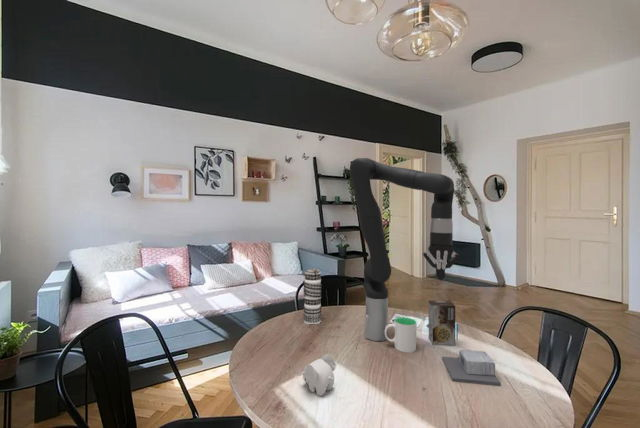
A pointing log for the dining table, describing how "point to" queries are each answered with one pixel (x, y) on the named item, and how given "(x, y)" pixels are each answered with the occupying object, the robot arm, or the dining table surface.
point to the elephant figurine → (320, 374)
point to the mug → (404, 334)
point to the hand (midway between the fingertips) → (440, 279)
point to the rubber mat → (461, 376)
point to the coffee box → (441, 322)
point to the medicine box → (476, 362)
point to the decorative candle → (312, 296)
